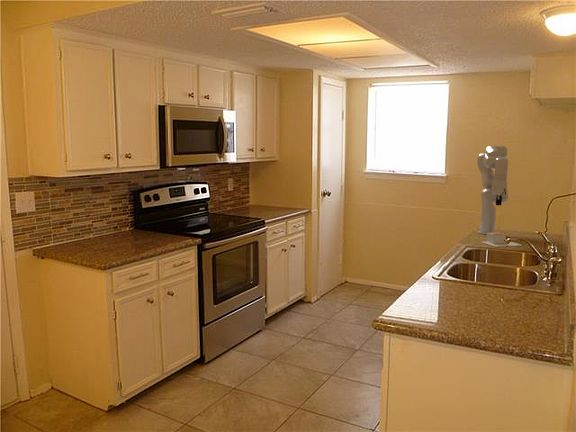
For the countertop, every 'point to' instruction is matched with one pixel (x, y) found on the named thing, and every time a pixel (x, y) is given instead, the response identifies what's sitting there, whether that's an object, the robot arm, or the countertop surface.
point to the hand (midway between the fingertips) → (498, 205)
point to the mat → (502, 244)
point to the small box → (496, 238)
